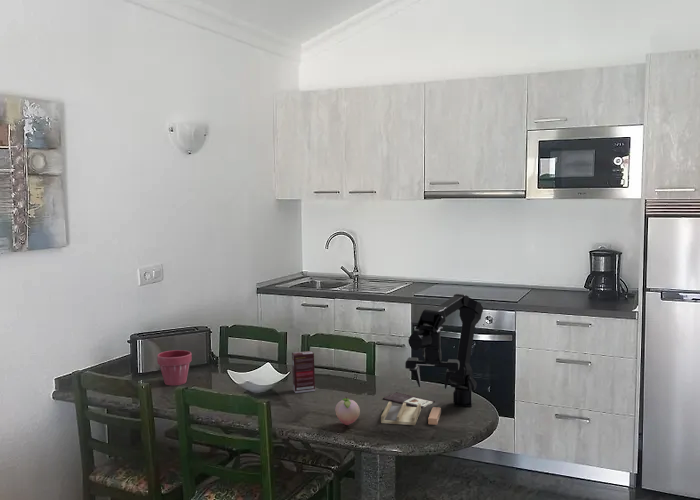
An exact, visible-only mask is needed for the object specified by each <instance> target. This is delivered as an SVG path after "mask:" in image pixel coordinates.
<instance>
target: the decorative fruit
mask: <svg viewBox="0 0 700 500" xmlns="http://www.w3.org/2000/svg"><path fill="white" fill-rule="evenodd" d="M334 409H335V414H336V417H337V419H338V420H339V421H340V422H341V423H342V424H343V425H346V426H349V425H352V424H353V423H355V422H356V421H357V420H358V418H359V416H360V414H361V412H360V411H361V408H360V406H359V405H358V403H357V402H356V401H355V400H353V399H350V398H348V397H346V398H342V399H341V400H340V401H338V402H337V403H336V405H335V408H334Z"/></svg>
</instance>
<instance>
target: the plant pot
mask: <svg viewBox="0 0 700 500" xmlns="http://www.w3.org/2000/svg"><path fill="white" fill-rule="evenodd" d="M192 355H193V354H192V352H191V351H189V350H182V349H174V350H166V351H162V352H160V353H157V357H156V359H157V365H158V366H159V368H160V372H161V374H162V379H163V383H164V385H166V386H180V385H184V384H186V383H187V379H188V374H189V371H190V365H191V364H190V363H191V362H192V359H193V358H192Z"/></svg>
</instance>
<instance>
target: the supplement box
mask: <svg viewBox="0 0 700 500" xmlns="http://www.w3.org/2000/svg"><path fill="white" fill-rule="evenodd" d="M291 365H292V366H291V369H292V371H291V372H292V390H293V392H294V393H295V394H298V393H301V394H302V393H308V392H315V391H316V374H315V353H314V352H313V351H312V350H307V351H297V352H295V351H294V352H291Z"/></svg>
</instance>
